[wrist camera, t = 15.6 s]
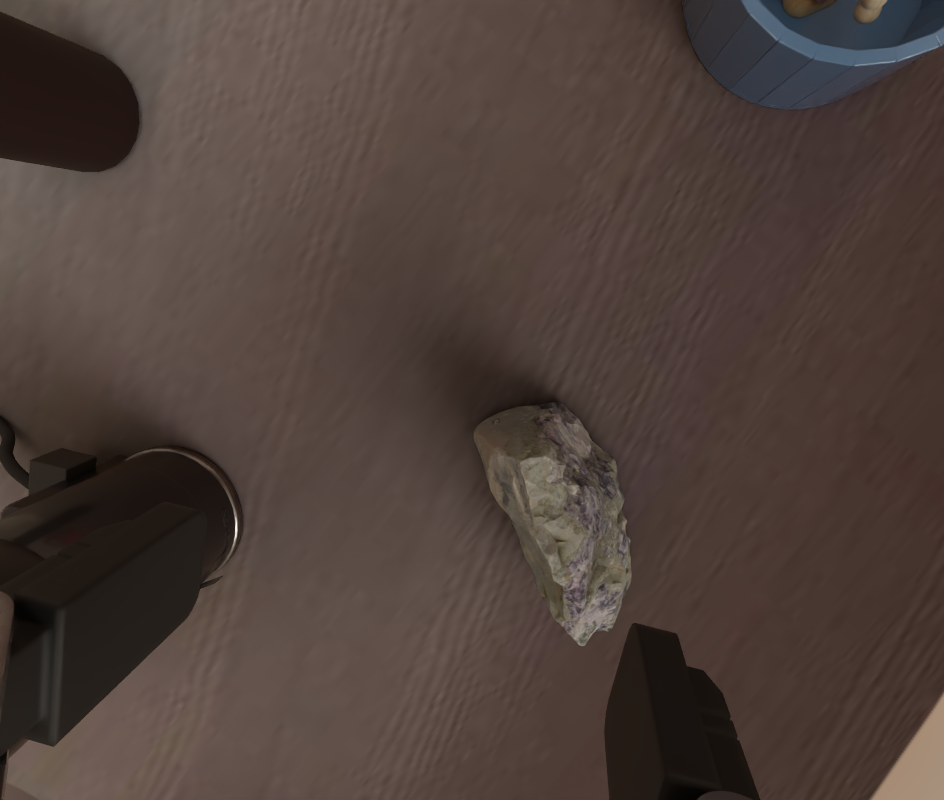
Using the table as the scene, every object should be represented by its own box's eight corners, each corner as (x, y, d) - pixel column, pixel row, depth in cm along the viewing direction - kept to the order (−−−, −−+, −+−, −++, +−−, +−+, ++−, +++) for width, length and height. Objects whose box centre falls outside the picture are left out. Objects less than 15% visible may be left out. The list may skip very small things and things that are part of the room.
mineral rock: (615, 614, 42) (630, 723, 32) (449, 575, 43) (415, 670, 33) (664, 420, 39) (697, 476, 29) (485, 383, 40) (459, 426, 30)
